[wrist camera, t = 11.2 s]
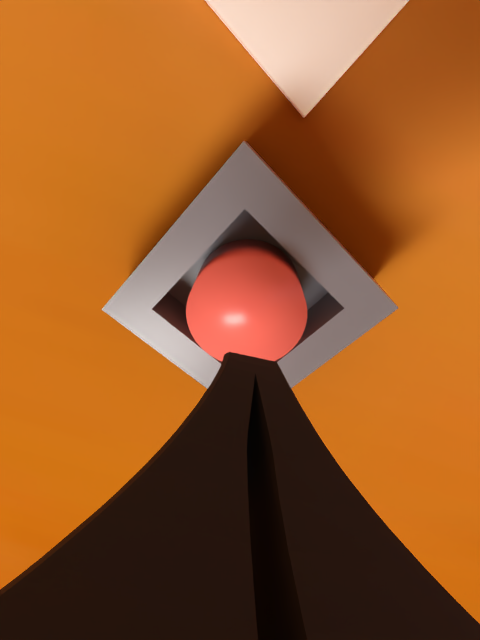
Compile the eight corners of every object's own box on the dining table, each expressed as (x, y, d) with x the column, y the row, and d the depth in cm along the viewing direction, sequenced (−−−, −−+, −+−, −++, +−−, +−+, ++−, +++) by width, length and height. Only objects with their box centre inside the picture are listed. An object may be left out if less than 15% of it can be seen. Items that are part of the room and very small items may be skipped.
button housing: (373, 279, 15) (398, 307, 13) (250, 378, 18) (248, 419, 16) (246, 141, 13) (243, 141, 10) (127, 281, 16) (101, 309, 13)
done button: (321, 289, 14) (332, 316, 12) (248, 351, 16) (247, 385, 14) (246, 215, 13) (244, 230, 11) (176, 290, 15) (161, 317, 12)
